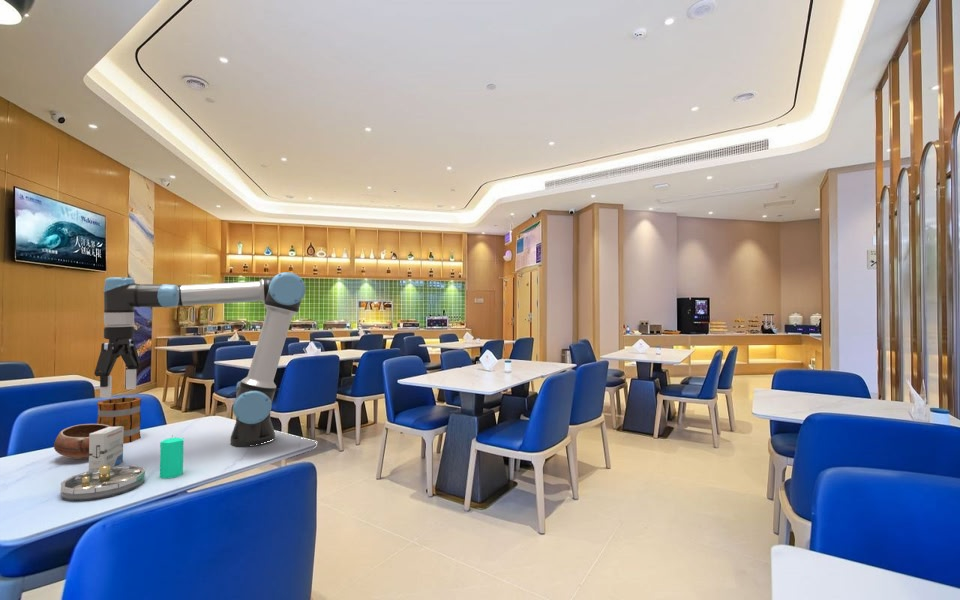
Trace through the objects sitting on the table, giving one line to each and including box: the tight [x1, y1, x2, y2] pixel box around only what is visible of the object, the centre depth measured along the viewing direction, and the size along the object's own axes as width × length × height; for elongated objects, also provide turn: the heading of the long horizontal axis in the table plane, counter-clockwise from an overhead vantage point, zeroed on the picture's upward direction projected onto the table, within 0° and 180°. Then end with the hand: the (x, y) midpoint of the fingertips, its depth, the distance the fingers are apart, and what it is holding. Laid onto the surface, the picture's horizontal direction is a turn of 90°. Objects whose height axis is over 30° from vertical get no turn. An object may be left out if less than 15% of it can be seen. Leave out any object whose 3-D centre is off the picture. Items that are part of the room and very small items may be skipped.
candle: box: [159, 434, 185, 479], centre depth 137 cm, size 6×6×12 cm
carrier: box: [60, 464, 146, 502], centre depth 127 cm, size 18×18×6 cm
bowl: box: [53, 423, 111, 460], centre depth 153 cm, size 16×16×10 cm
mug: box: [96, 396, 142, 445], centre depth 174 cm, size 20×14×15 cm
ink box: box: [88, 426, 124, 471], centre depth 144 cm, size 9×5×12 cm, turn 5°
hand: (119, 393), depth 144 cm, fingers open, 13 cm apart
